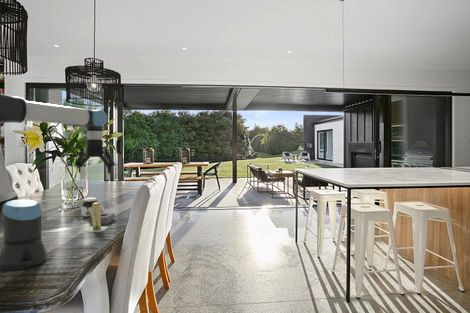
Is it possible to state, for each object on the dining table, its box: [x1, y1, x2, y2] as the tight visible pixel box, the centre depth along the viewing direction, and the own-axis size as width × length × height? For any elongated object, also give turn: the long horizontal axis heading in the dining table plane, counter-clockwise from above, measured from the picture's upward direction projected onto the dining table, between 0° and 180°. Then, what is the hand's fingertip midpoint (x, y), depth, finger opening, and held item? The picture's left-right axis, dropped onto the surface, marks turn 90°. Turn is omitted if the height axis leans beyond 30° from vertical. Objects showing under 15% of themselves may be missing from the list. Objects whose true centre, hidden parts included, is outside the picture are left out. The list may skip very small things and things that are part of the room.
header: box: [89, 212, 116, 225], centre depth 165 cm, size 10×10×4 cm
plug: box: [92, 201, 102, 230], centre depth 150 cm, size 4×4×14 cm
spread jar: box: [81, 196, 106, 219], centre depth 179 cm, size 12×11×12 cm
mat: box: [83, 226, 109, 233], centre depth 151 cm, size 9×9×1 cm
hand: (95, 179), depth 150 cm, fingers open, 13 cm apart
